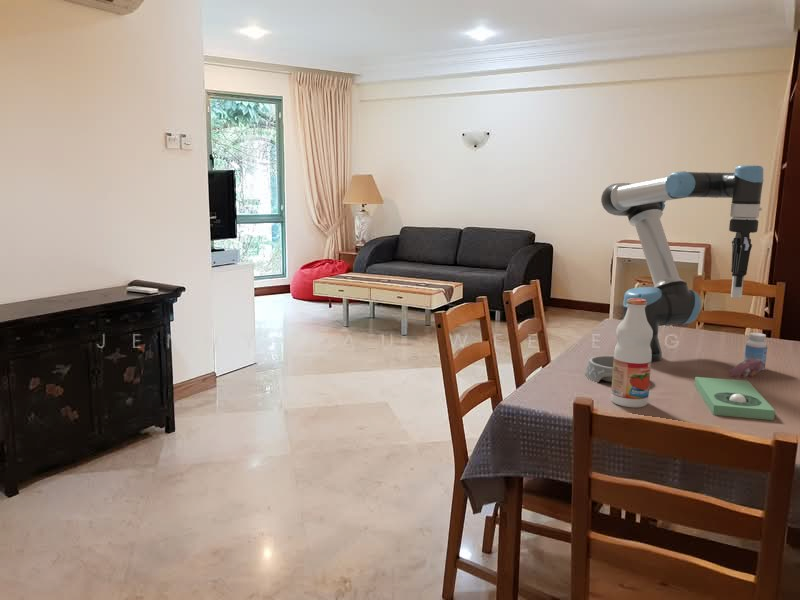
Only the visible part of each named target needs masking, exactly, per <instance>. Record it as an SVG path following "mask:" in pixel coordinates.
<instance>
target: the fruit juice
mask: <svg viewBox="0 0 800 600" xmlns="http://www.w3.org/2000/svg"><path fill="white" fill-rule="evenodd" d="M627 305H628V309H627V312H626V315H625V317H624V319H623V321H622V320H621V322H620V323H619V324H618V325H617V327H616V330H615V334H616V335H615V336H616V340H617V342H616V344H617V345H616V344H615V347H614V351H613V356H614V361H613V375H612V382H611V391H610V399H611V402H612V403H614V404H616V405H619V406H620V407H626V408H636V409H637V408H642V407H646V406H647V405H648V401H649V394H650V381H651V380H650V379H651V369H652V362H651V359H652V351H651V348H650V343H651V340H652V337H653V330H652V328H651V326H650V324H649V323H648V321H647V318H646V314H645V307H646V305H647V300H645V299H640V298H628V299H627Z"/></svg>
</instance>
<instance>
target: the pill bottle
mask: <svg viewBox="0 0 800 600" xmlns="http://www.w3.org/2000/svg"><path fill="white" fill-rule="evenodd" d="M766 337H767V335H766V334H764V333H761V332H759V333H758V332H750V333H749V335H748V338H749V340H747V341H746V342H745V350H744V359H743V361H746V360H748V359H756V360H757V359H759V361H762V362H763V363H764V364H765V366H764V368H763V369H762V371H764V370H765V369H766V362H767V354H768V353H767V352H768V343H767V342H766V341H765V340H766V339H767V338H766Z"/></svg>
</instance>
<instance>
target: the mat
mask: <svg viewBox="0 0 800 600" xmlns="http://www.w3.org/2000/svg"><path fill="white" fill-rule="evenodd" d="M693 384H694V386H695V388H696V390H697V391H698V393H699V395H700V396H701V398H702V399H703V401H704V403H705V405H706V406H707V407H708V409H709V410H710V412H711V414H712V415H714V416H722V417H723V416H725V417H734V418H735V417H736V418H747V419H759V420H769V421H770V420H771V421H774V420H775V414H776V410H775V408H773V406H771V404H770V403H769V402H768V401H767V400H766V399H765V398H764V397H763V395H762V394H761V393H759V391H758V390H757V389H756V388H755V387H754V386H753V385H752V384H751V383H750V382H749V381H748V380H741V379H740V380H739V379H729V378H716V377H715V378H714V377H701V376H695V377H694V383H693ZM733 394H741V395H743V396H744V397H745V399H746V403H740V402H734V401H730V400H729V398H730V397H731V396H732V395H733Z"/></svg>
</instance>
